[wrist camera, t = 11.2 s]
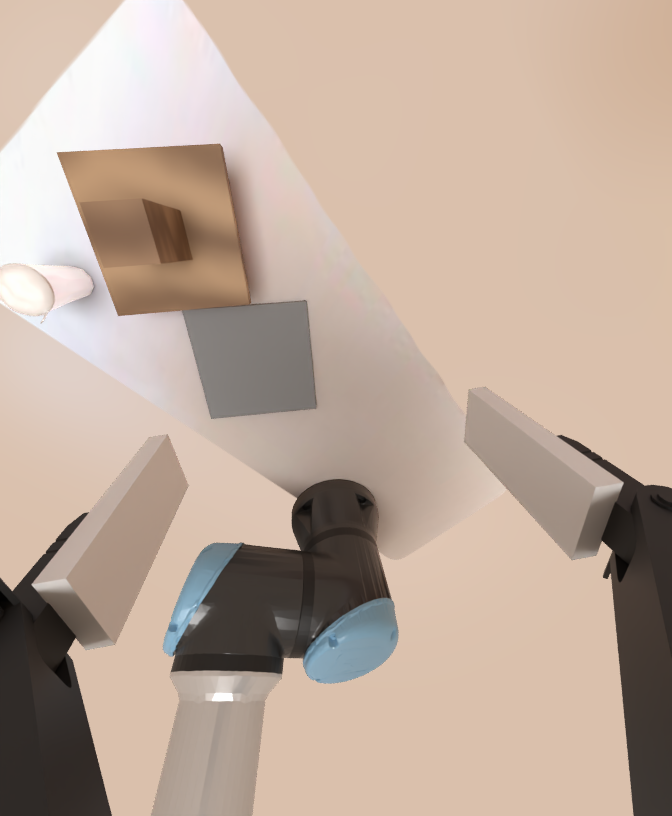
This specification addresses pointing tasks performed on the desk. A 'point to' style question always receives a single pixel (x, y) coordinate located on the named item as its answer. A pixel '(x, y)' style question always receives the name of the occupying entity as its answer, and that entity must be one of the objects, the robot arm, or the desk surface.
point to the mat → (253, 357)
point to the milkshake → (42, 287)
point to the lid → (160, 226)
